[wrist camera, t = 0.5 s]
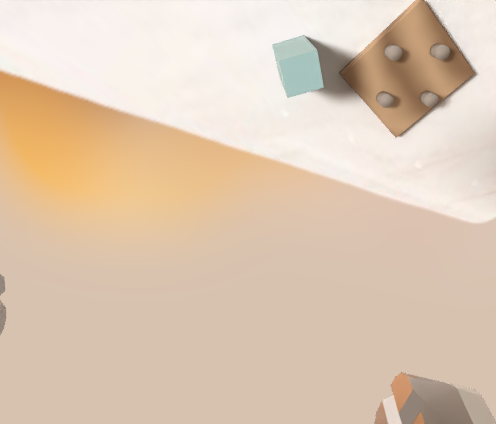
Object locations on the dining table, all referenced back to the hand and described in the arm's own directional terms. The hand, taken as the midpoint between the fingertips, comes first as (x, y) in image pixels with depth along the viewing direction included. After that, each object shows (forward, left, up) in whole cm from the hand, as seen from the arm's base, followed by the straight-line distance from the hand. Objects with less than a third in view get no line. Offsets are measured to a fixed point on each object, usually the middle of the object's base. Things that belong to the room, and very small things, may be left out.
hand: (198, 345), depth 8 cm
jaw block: (-3, +8, -48) cm, 48 cm away
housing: (-12, +20, -48) cm, 53 cm away
